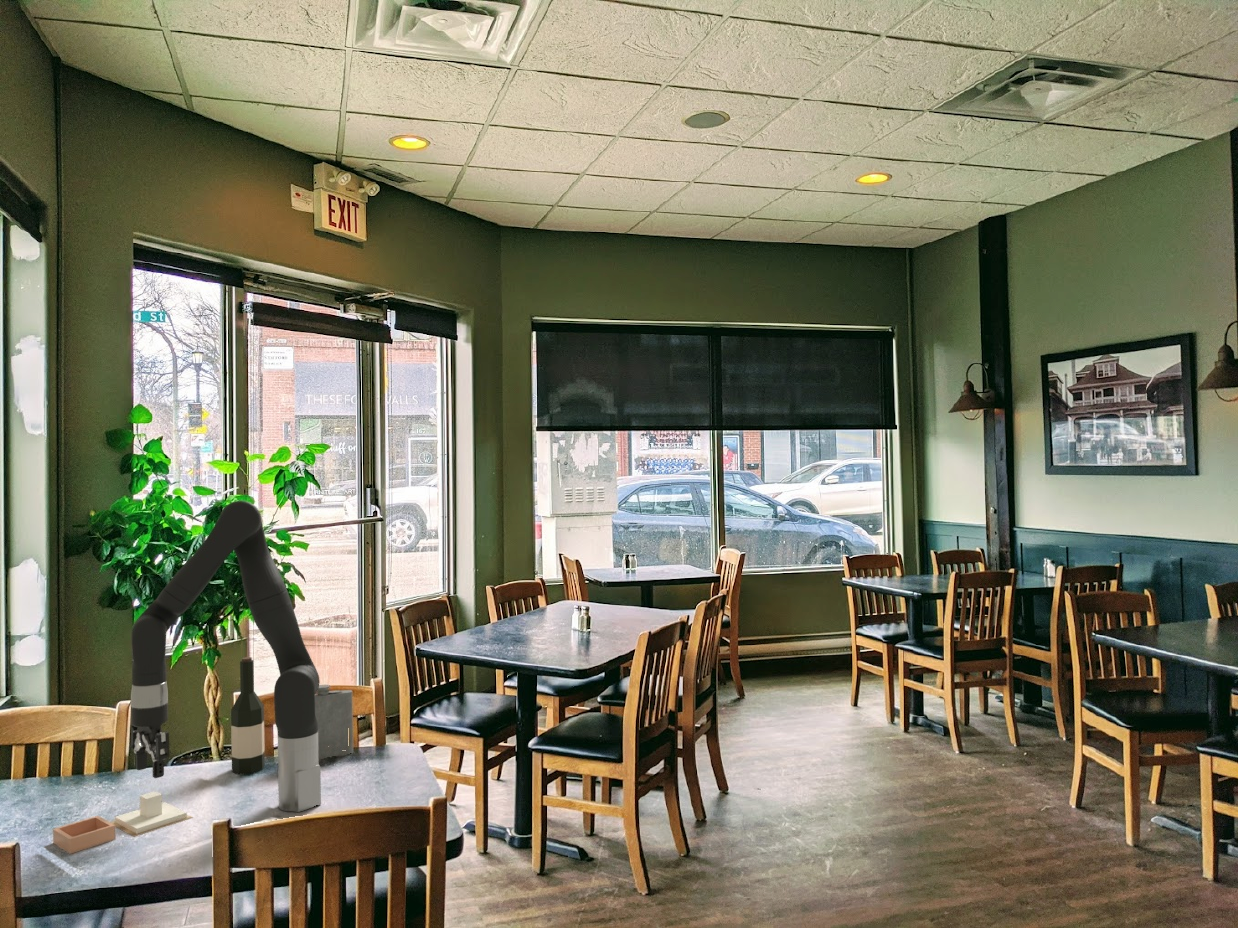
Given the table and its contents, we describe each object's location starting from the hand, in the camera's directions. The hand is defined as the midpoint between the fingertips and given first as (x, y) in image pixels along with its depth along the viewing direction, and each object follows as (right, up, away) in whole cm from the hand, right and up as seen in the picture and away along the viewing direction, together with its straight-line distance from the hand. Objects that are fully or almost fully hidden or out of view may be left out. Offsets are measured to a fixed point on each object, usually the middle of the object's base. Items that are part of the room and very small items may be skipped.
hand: (149, 772), depth 204 cm
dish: (-8, -12, -11) cm, 18 cm away
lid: (0, -11, 0) cm, 11 cm away
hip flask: (+25, -12, +45) cm, 53 cm away
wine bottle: (+7, -12, +36) cm, 39 cm away
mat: (0, -12, 0) cm, 12 cm away
